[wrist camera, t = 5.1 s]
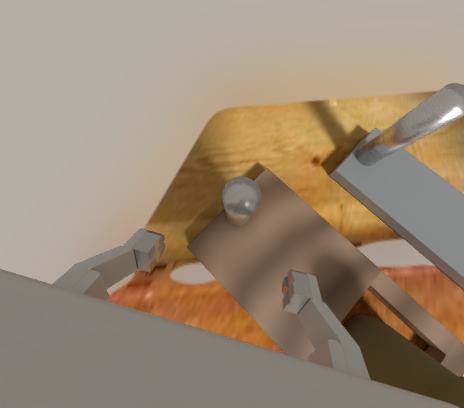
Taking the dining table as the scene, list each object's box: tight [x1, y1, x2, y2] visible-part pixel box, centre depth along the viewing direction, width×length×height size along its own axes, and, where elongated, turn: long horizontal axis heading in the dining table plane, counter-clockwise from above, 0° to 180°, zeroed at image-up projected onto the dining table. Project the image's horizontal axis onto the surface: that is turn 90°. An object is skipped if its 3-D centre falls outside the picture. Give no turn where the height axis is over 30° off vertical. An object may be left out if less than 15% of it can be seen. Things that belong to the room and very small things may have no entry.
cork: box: [343, 314, 464, 408], centre depth 14 cm, size 6×6×11 cm
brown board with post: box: [187, 168, 464, 377], centre depth 15 cm, size 28×13×11 cm, turn 45°
